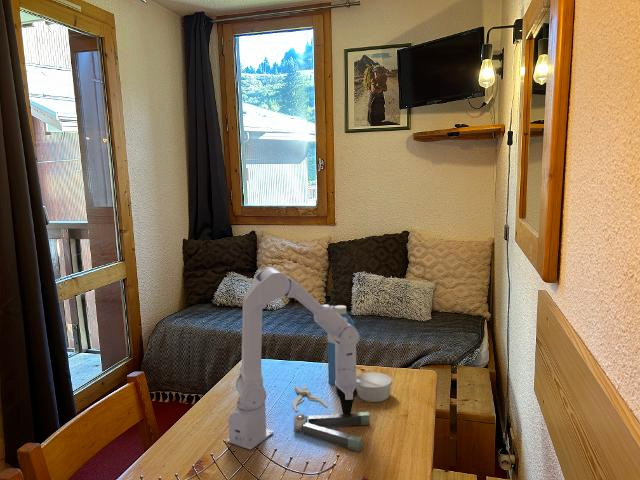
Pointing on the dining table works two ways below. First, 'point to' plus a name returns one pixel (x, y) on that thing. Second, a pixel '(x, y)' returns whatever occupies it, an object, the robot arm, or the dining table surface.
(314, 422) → the arm
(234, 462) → the dining table surface
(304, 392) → the pliers
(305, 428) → the tongs frame
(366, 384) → the ramekin
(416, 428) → the dining table surface
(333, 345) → the water bottle
